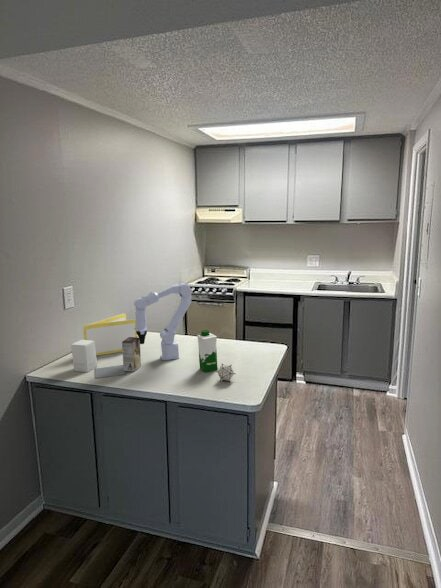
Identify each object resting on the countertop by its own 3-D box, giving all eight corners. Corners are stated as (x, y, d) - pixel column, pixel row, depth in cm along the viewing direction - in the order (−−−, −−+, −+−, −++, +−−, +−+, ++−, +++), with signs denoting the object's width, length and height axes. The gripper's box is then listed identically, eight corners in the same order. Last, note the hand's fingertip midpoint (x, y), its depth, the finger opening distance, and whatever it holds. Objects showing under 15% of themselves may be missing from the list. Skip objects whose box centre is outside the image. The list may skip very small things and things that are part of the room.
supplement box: (97, 366, 228) (95, 340, 225) (87, 372, 219) (84, 345, 216) (84, 365, 231) (81, 339, 228) (73, 371, 222) (70, 344, 219)
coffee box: (130, 365, 227) (129, 336, 224) (141, 365, 226) (140, 337, 223) (123, 371, 218) (121, 341, 215) (134, 371, 217) (133, 342, 214)
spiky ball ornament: (222, 387, 202) (215, 368, 206) (238, 379, 202) (230, 361, 206) (220, 385, 194) (212, 365, 197) (237, 377, 194) (228, 358, 197)
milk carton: (212, 364, 223) (210, 328, 219) (220, 369, 215) (218, 332, 211) (197, 368, 219) (195, 331, 215) (204, 373, 211) (202, 335, 207)
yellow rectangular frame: (123, 340, 275) (121, 311, 271) (149, 344, 264) (147, 314, 260) (82, 357, 245) (79, 324, 241) (109, 362, 234) (106, 329, 230)
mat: (123, 365, 227) (123, 364, 227) (125, 374, 214) (125, 373, 214) (95, 369, 223) (95, 368, 223) (95, 378, 210) (95, 377, 210)
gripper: (132, 317, 234) (133, 340, 236) (134, 323, 220) (135, 348, 222) (145, 316, 235) (146, 339, 238) (147, 322, 222) (148, 347, 224)
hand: (142, 343), depth 230 cm, fingers closed
